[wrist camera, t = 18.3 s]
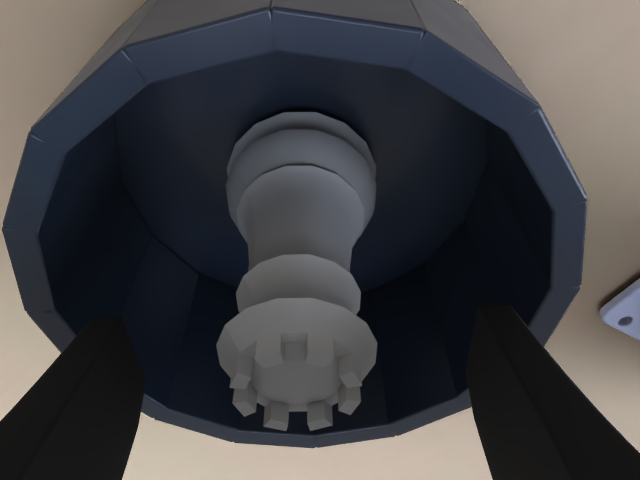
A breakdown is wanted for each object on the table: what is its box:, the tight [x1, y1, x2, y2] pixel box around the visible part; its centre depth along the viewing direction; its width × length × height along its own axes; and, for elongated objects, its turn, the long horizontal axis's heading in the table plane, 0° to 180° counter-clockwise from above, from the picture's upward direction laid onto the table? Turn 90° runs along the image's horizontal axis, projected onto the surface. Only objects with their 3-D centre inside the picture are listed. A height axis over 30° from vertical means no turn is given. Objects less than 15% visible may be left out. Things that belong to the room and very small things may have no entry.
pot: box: [2, 0, 587, 448], centre depth 14 cm, size 12×12×6 cm
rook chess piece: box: [216, 112, 377, 431], centre depth 13 cm, size 4×4×8 cm
